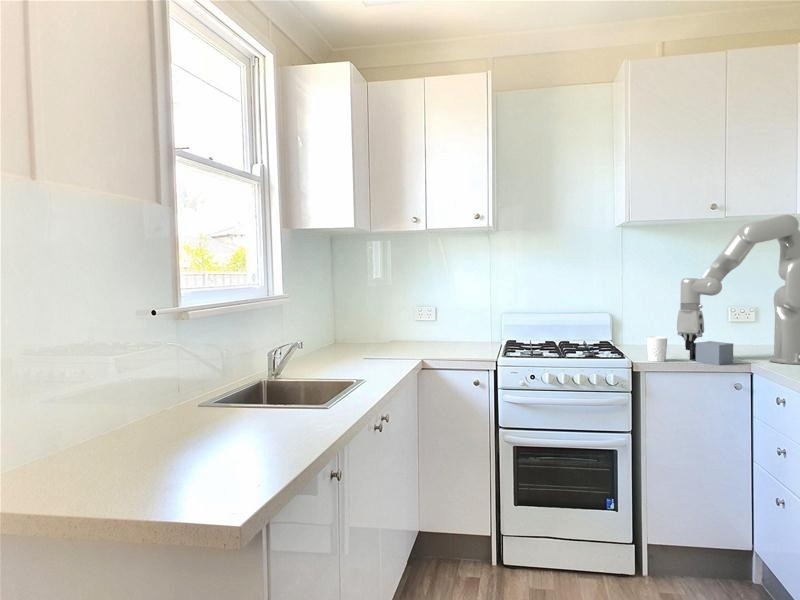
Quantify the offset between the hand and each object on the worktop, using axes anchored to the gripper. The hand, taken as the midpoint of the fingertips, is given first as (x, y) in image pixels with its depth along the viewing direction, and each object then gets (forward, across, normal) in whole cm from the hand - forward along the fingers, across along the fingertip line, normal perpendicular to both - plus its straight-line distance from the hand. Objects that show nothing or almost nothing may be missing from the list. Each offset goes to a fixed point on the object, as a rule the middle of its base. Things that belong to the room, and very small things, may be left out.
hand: (689, 349), depth 252 cm
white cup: (+4, +5, +15) cm, 16 cm away
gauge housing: (+4, -5, -2) cm, 7 cm away
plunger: (+4, -7, -2) cm, 9 cm away
